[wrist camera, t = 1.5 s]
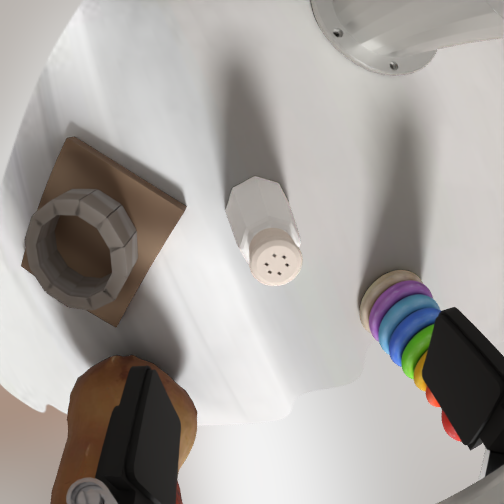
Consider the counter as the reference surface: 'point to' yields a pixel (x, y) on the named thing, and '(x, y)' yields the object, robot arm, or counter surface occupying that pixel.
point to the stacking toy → (403, 325)
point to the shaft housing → (96, 232)
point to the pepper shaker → (265, 230)
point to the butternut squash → (98, 416)
